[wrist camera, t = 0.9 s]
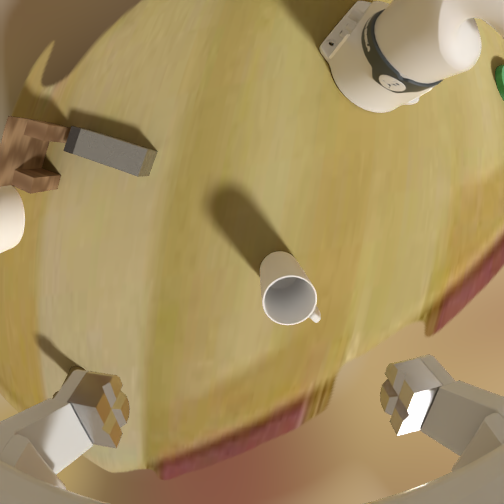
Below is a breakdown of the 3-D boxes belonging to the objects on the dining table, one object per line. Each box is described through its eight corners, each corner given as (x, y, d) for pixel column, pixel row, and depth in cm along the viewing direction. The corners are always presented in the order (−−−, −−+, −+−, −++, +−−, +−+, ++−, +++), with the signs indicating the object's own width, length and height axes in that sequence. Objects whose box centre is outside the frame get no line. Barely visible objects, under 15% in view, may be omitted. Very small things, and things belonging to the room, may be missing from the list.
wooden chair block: (50, 122, 39) (8, 115, 28) (74, 129, 40) (32, 122, 28) (34, 179, 42) (-9, 185, 30) (57, 188, 43) (14, 196, 31)
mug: (249, 271, 47) (250, 304, 36) (277, 240, 46) (288, 263, 34) (294, 308, 49) (308, 347, 38) (322, 279, 48) (344, 311, 36)
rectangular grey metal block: (86, 129, 40) (71, 125, 35) (157, 151, 42) (147, 149, 37) (79, 151, 41) (63, 150, 36) (148, 175, 43) (137, 176, 38)
